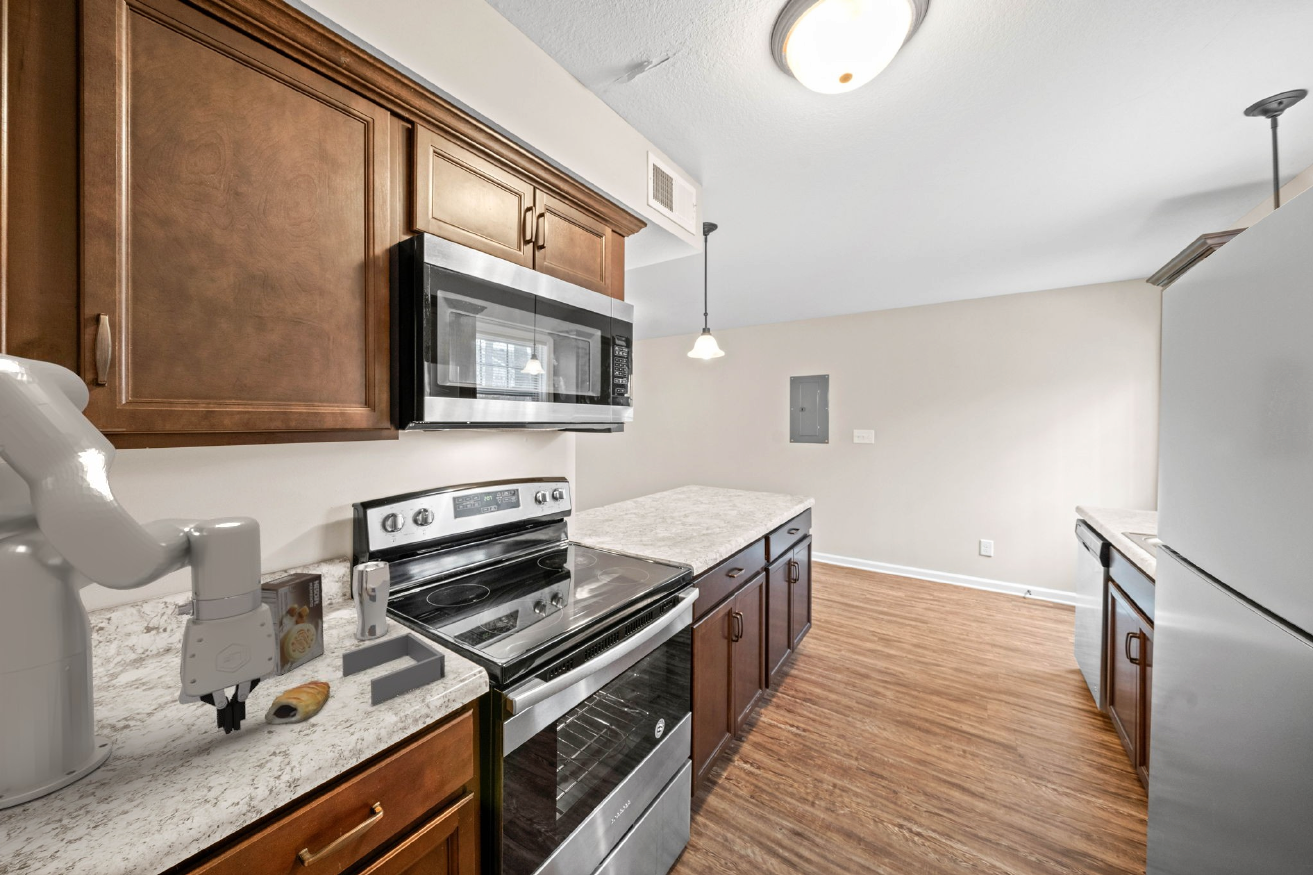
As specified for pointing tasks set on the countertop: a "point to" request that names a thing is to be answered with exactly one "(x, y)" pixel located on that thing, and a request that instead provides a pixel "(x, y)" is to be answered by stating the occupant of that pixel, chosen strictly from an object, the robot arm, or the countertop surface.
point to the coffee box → (295, 618)
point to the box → (402, 679)
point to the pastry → (298, 703)
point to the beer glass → (371, 599)
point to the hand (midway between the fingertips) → (231, 728)
